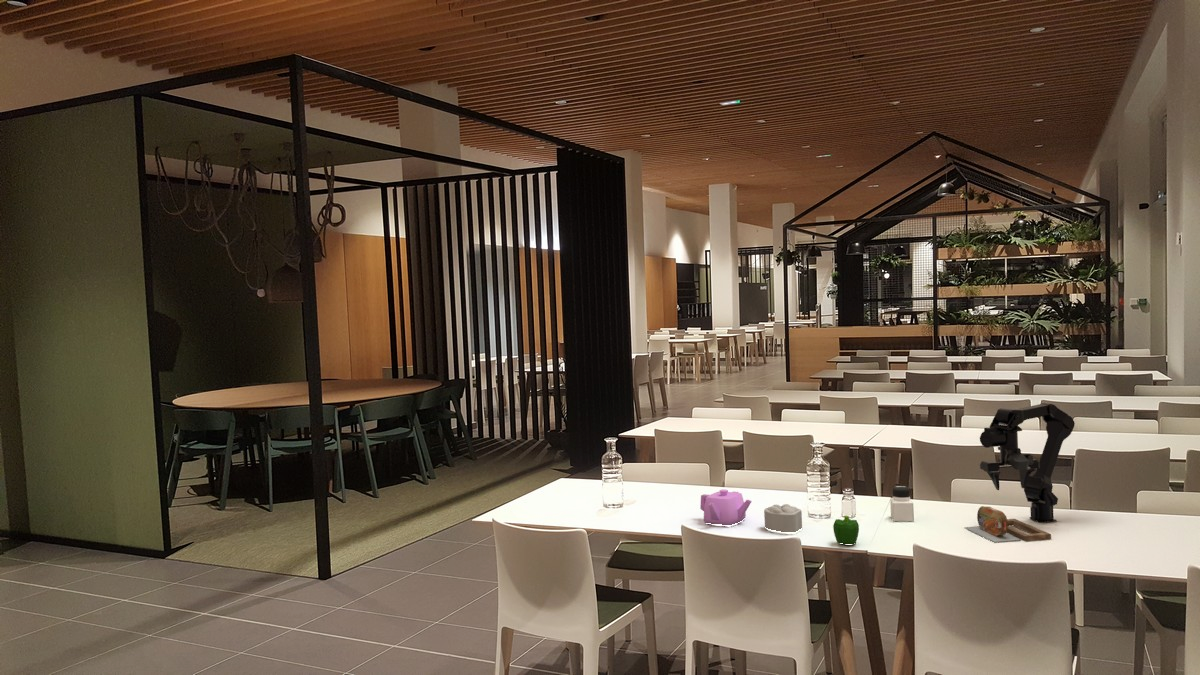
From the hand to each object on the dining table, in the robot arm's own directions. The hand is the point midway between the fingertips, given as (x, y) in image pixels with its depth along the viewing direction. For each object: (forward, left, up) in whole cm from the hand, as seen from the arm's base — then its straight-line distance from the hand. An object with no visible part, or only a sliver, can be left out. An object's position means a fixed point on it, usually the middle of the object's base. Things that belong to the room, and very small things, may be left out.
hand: (1010, 489), depth 295 cm
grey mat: (+12, +8, -13) cm, 19 cm away
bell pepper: (+62, +6, -13) cm, 64 cm away
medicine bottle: (+31, -19, -13) cm, 39 cm away
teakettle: (+94, -33, -13) cm, 101 cm away
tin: (+11, +8, -13) cm, 19 cm away
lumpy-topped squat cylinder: (+77, -17, -13) cm, 80 cm away
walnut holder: (+2, +8, -13) cm, 15 cm away
